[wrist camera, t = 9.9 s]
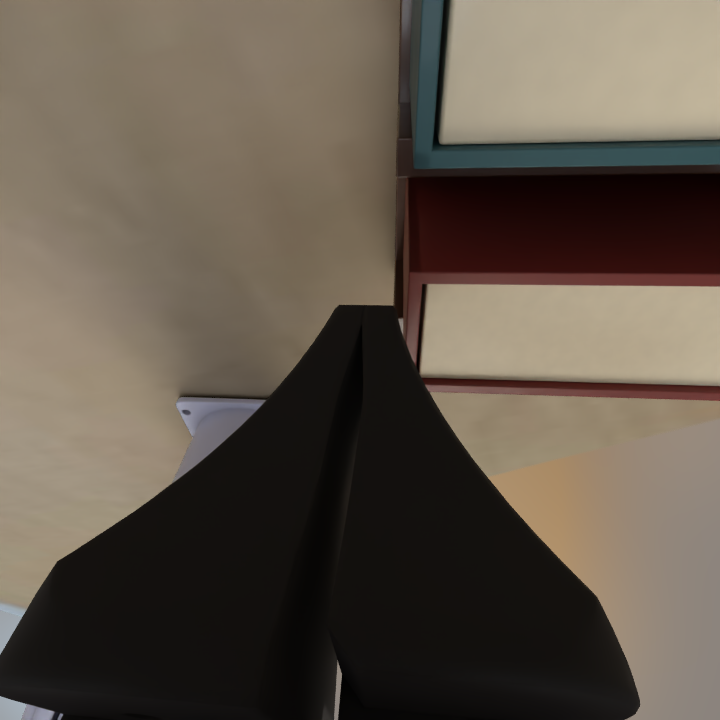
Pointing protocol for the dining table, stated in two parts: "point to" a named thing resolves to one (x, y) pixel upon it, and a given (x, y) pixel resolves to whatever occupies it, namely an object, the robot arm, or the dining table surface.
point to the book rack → (408, 171)
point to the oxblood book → (564, 285)
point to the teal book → (564, 83)
